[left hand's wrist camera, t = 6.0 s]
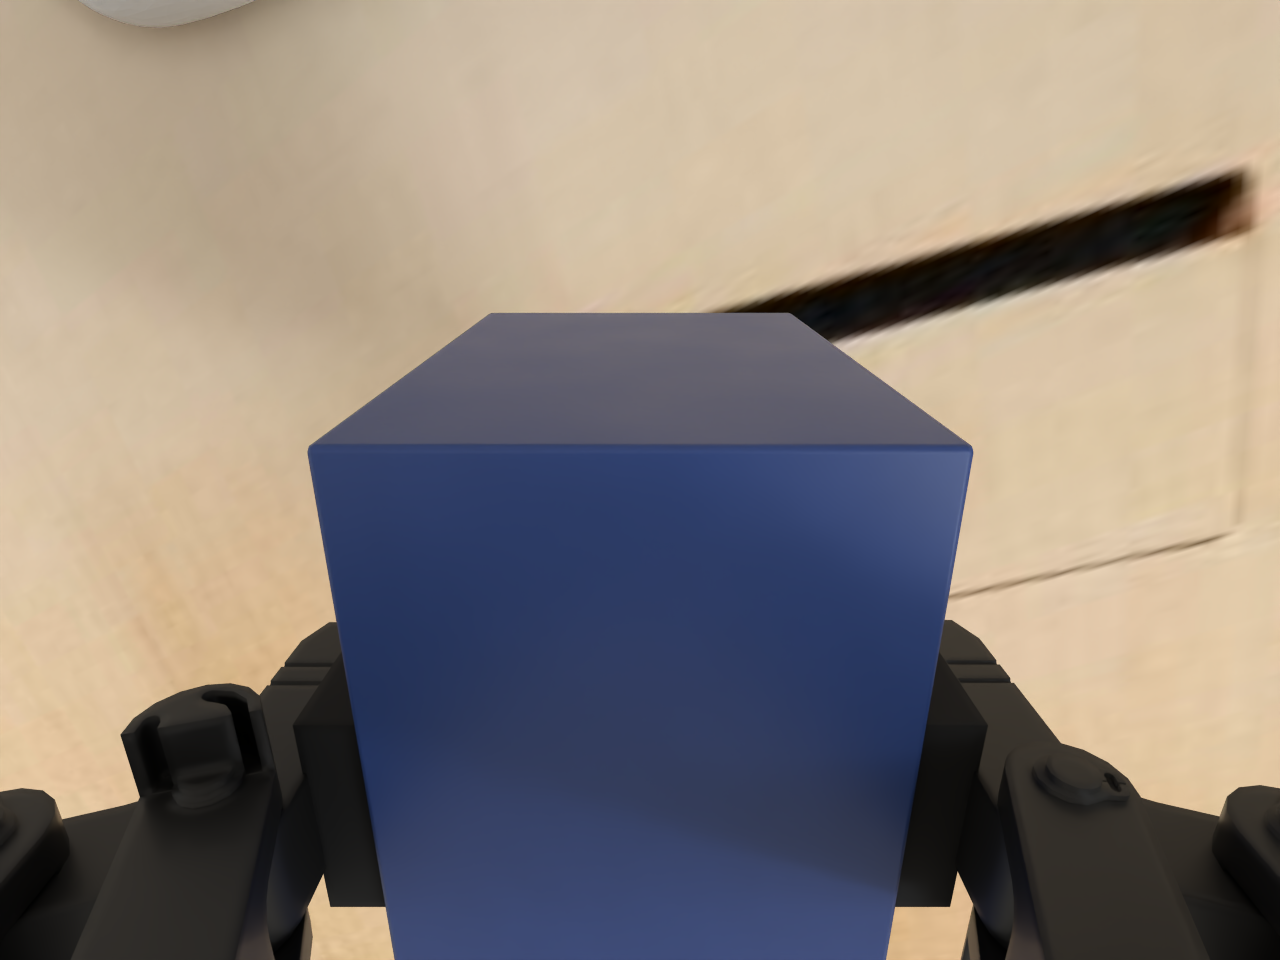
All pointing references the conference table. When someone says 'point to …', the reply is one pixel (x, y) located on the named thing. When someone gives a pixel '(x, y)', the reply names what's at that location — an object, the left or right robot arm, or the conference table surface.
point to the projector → (161, 10)
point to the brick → (640, 636)
